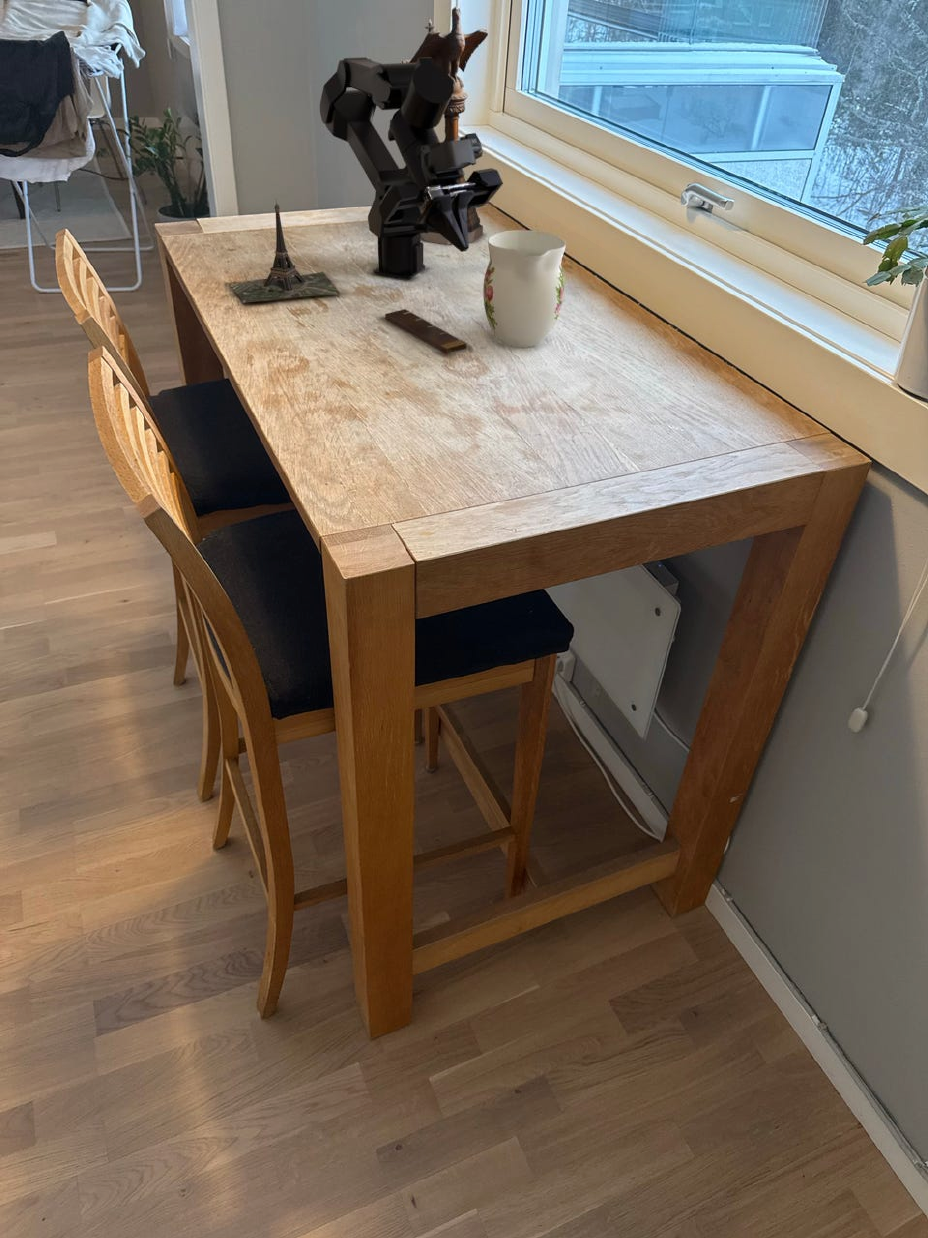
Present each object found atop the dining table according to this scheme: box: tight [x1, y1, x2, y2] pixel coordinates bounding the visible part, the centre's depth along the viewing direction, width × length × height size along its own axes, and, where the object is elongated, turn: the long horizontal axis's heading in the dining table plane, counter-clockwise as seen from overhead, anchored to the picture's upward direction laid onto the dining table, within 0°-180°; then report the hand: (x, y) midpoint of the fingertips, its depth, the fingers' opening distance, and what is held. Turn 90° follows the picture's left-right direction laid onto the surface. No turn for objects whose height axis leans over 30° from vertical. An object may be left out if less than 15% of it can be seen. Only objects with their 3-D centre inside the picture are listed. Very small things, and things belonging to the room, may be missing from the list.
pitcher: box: [482, 229, 567, 348], centre depth 123 cm, size 11×18×14 cm, turn 3°
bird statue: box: [401, 6, 489, 246], centre depth 153 cm, size 17×13×35 cm
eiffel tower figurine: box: [229, 199, 341, 304], centre depth 134 cm, size 15×10×13 cm
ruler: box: [384, 308, 467, 355], centre depth 127 cm, size 15×4×1 cm, turn 37°
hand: (465, 249), depth 129 cm, fingers closed
